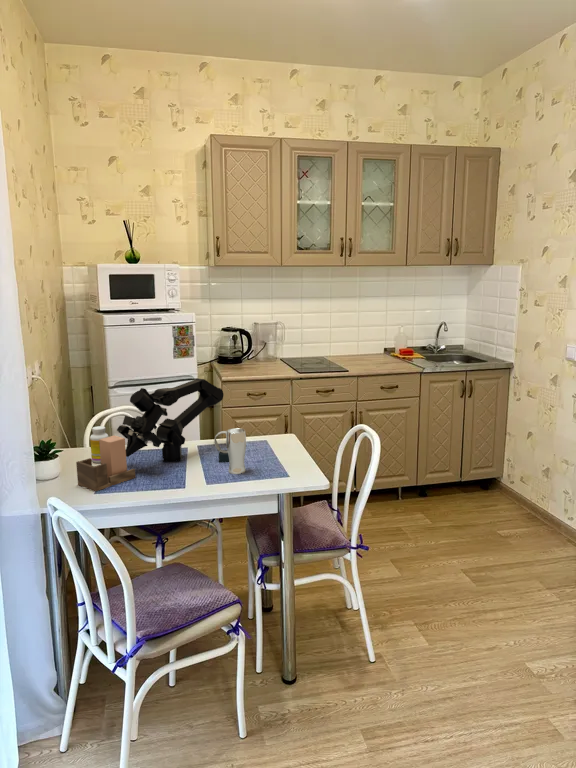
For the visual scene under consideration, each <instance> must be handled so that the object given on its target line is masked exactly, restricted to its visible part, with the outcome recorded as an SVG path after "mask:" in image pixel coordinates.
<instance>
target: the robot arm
mask: <svg viewBox="0 0 576 768" xmlns="http://www.w3.org/2000/svg"><path fill="white" fill-rule="evenodd" d="M196 392H198V394H199V396H198V398H197V399H196V400H195V401H193V402H192V404H190V405H189V406H188V407H187V408H186V409H184V410H183V411H182V412H181V413H180V414H179V415H178V416H176V417H175V418H174V419H173V418H165V419H164V420H163V421H162V422H160V423H158V422H159V420H160V419H161V418H162V416H166V417H167V416H168V412H167V410H168V409H167V407H170V406H171V407H172V406H173V405H174V404H176V403H177V402H178V400H179V399H181V398H183V397H185V396H188V395H191V394H193V393H196ZM223 400H224V391H223V389H222V388H221V387H218V386H216V385H214V384H212V383H211V382H209V381H208V380H206V379H205V378H198V377H197V378H194V379H193V380H190V381H188V382H185V383H181V384H179V385H176V386H174V387H164V388H157V389H156V390H154V392H152V393H149V392H148V390H147V389H146V388H144V387H141V388H140V389H139V390H137V391H136V392H134V393H132V394H131V396H130V398H129V402H130V403H131V404H132V405H133V406H134V408H136V409H137V410H139V412H141V413H143V414H142V416H140V415H137V416H136V417H133V416H128V415H124V418H123V421H122V425H121V424H120V425H119V426H118V427H117V429H116V432H118V433H119V434H120V435H121V436H123V438H125V439H127V443H126V446H125V448H126V458H129V457H130V456H131V455H133V454H135V453H136V452H138V451H140V450H142V449H143V448H145V447H148V443H149V442H150V443H151V442H152V446H153V447H155V448H160V446H161V445H162V444H163V445H162V448H161V453H162V454H161V455H162V459H163V460H162V462H164V463H165V462H166V463H168V462H169V463H171V462H181V461H182V459H183V452H182V451H183V450H182V446H183V445H185V442H186V438H185V437H184V435H183V433H184V432H183V431H184V429H185V428H186V427H187V426H188V425H189V424H190V423H191V422H193V420H195V419H196V418H197V417H198V416H199V415H201V414H202V413H203V412H204V411H205V410H206V409H207V408H209V407H212V406H216V405H217V404H219V403H221V402H222V401H223ZM162 406H165V407H166V408H165V407H162ZM157 423H158V425H159V426H157ZM153 430H156V432H155V433H154V432H152V431H153Z"/></svg>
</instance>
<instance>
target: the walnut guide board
mask: <svg viewBox="0 0 576 768" xmlns="http://www.w3.org/2000/svg"><path fill="white" fill-rule="evenodd" d="M92 462H93V461H92V457H91V458H86V459H83V460H77V461H76V462H75V465H76V476H77V485H78V486H80V487H83V488H85V489H89V490H91V491H94V492H98V491H101V490H104V489H107V488H110V487H112V485H113V486H116V485H118V484H122V483H124V481H125V482H127V481H130V480H133V479H135V478H137V475H136V469H135V468H131V469H127V471H124V472H121V473H118V474H115V475H112V476H109V478H108V475H107V464H106V463H104V464H101V463H99V464H98V465H93V463H92ZM121 482H122V483H121Z"/></svg>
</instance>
